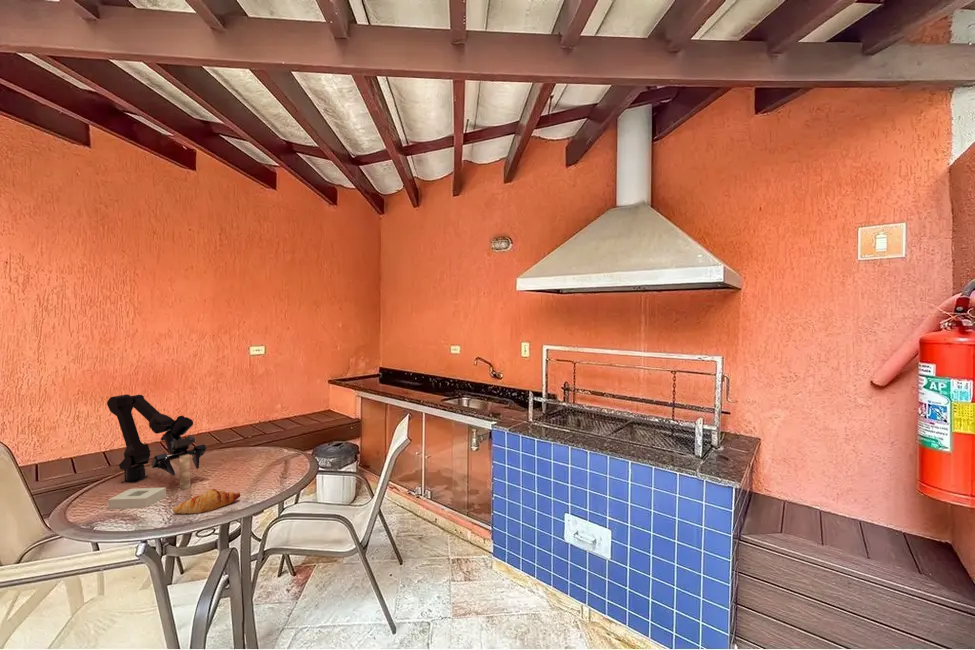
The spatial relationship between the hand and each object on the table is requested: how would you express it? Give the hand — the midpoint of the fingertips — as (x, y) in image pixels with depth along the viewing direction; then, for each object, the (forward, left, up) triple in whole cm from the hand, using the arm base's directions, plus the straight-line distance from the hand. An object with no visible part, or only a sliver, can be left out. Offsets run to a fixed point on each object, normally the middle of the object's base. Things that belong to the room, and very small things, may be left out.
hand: (186, 471), depth 170 cm
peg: (-1, +1, -7) cm, 7 cm away
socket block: (-10, -12, -7) cm, 17 cm away
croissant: (+21, -19, -8) cm, 29 cm away
